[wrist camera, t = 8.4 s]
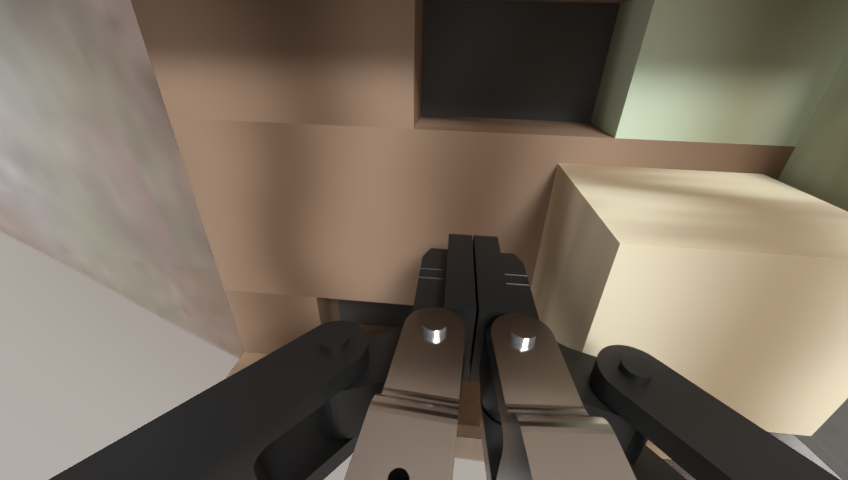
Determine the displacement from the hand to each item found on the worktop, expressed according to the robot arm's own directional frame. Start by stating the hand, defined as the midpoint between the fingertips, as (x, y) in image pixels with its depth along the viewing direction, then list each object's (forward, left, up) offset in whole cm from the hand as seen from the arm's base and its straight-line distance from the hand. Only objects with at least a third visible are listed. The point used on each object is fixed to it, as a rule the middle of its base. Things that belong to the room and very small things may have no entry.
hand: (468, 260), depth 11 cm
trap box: (0, 0, -4) cm, 4 cm away
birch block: (+6, 0, -2) cm, 6 cm away
